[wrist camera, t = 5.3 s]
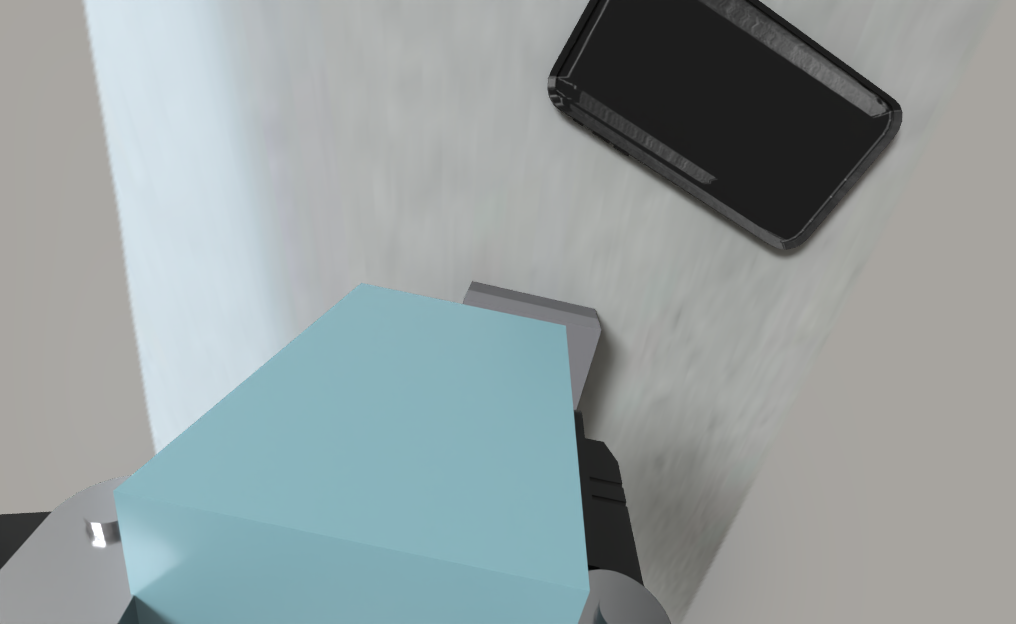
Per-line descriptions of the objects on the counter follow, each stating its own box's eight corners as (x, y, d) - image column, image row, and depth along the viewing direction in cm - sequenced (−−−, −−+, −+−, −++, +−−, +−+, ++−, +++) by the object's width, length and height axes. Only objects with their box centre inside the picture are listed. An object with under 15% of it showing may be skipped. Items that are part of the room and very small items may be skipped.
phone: (638, -88, 19) (914, 113, 21) (633, -76, 20) (897, 114, 22) (536, 96, 22) (790, 259, 24) (536, 98, 23) (779, 254, 25)
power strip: (472, 281, 26) (461, 304, 22) (594, 309, 26) (603, 336, 22) (416, 564, 34) (402, 614, 30) (510, 584, 34) (507, 637, 30)
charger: (387, 260, 10) (113, 491, 4) (563, 297, 10) (589, 589, 4) (370, 440, 12) (166, 801, 6) (518, 471, 12) (485, 869, 6)
